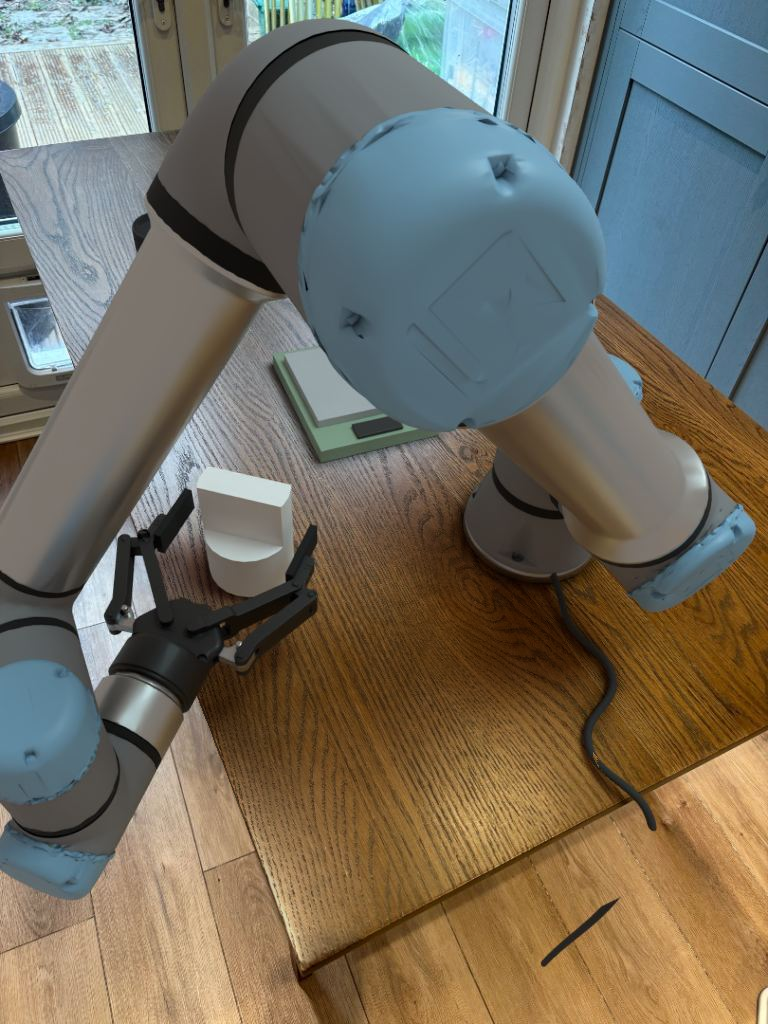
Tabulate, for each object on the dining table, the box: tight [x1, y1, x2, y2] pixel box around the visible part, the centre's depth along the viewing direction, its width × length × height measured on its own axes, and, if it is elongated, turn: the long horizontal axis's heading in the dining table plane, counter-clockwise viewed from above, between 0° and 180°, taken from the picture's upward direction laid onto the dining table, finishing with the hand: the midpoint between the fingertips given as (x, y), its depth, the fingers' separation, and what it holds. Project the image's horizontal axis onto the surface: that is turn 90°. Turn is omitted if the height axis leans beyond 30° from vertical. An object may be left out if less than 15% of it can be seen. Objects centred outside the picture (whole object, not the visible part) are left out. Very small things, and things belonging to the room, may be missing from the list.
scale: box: [272, 345, 440, 464], centre depth 99 cm, size 20×16×3 cm
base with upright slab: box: [195, 465, 295, 598], centre depth 76 cm, size 9×9×12 cm
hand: (251, 515), depth 76 cm, fingers open, 13 cm apart
